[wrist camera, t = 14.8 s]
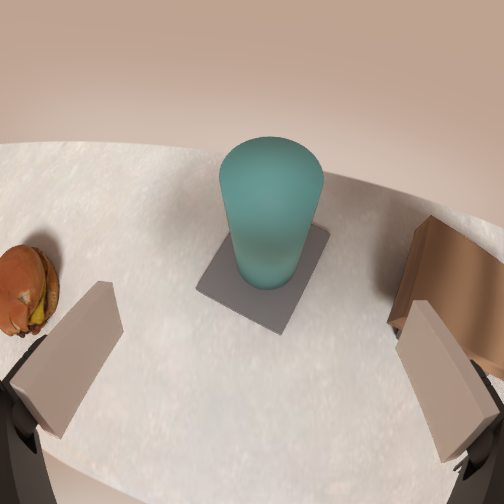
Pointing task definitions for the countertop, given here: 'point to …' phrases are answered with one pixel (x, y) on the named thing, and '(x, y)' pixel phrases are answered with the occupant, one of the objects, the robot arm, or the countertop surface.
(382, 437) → the countertop surface
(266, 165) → the roller
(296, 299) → the pad
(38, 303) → the burger
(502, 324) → the slab
